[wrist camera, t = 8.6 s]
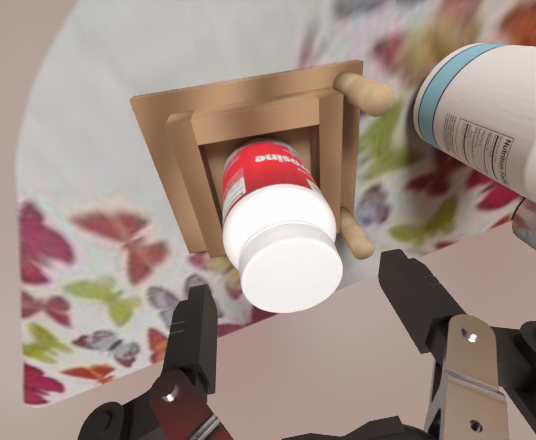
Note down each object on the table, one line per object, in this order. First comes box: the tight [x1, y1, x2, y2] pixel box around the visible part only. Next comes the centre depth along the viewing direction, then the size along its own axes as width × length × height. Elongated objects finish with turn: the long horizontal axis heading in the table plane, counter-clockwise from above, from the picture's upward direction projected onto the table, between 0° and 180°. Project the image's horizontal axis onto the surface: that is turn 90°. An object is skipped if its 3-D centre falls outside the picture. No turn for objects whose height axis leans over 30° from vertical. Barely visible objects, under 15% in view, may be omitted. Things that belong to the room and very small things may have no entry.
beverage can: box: [413, 43, 536, 203], centre depth 16 cm, size 7×7×12 cm
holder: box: [130, 60, 394, 259], centre depth 20 cm, size 15×13×6 cm
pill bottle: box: [222, 137, 343, 313], centre depth 17 cm, size 6×6×11 cm
